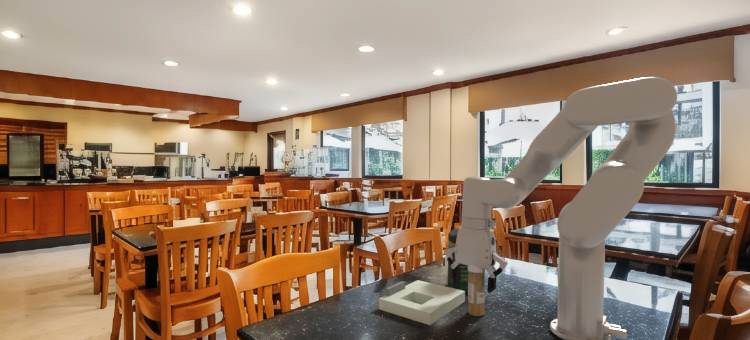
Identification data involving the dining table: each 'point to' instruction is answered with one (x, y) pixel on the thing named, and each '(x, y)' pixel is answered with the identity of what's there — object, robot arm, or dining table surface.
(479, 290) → the sprinkles bottle
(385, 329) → the dining table surface
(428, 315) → the deck plate
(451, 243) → the coffee jar
